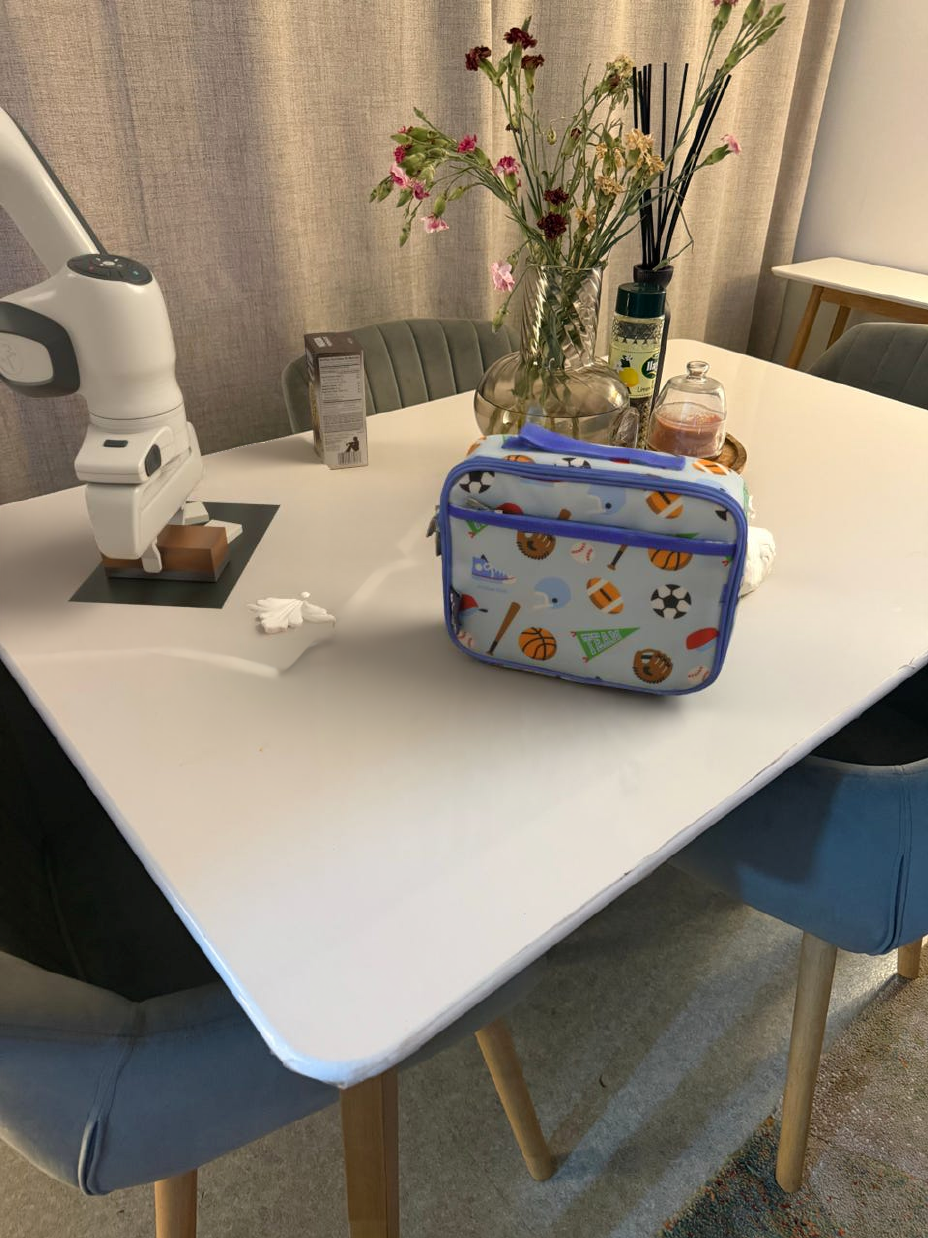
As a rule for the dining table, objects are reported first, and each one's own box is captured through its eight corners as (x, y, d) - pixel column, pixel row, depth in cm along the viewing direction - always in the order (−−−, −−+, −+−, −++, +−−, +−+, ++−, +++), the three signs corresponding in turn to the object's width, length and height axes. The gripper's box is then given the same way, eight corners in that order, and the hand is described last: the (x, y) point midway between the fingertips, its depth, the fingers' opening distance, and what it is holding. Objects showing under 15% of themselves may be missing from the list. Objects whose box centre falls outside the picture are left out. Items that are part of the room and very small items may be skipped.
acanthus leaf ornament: (337, 628, 88) (335, 612, 87) (271, 648, 85) (269, 632, 84) (307, 593, 94) (306, 578, 93) (244, 611, 91) (242, 596, 90)
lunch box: (417, 664, 83) (412, 442, 71) (450, 608, 92) (450, 401, 80) (717, 720, 77) (767, 486, 65) (723, 653, 85) (768, 436, 73)
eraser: (105, 576, 94) (97, 543, 92) (124, 553, 99) (117, 521, 96) (216, 582, 94) (210, 548, 91) (230, 559, 98) (225, 526, 96)
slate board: (56, 613, 90) (53, 605, 90) (150, 502, 112) (149, 495, 111) (229, 621, 89) (228, 614, 89) (291, 508, 111) (290, 501, 110)
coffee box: (312, 446, 128) (302, 332, 119) (356, 441, 129) (349, 329, 120) (323, 471, 120) (313, 352, 112) (370, 465, 122) (363, 348, 113)
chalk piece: (175, 527, 104) (173, 520, 104) (169, 514, 107) (167, 506, 107) (209, 521, 106) (208, 513, 105) (202, 507, 109) (201, 500, 108)
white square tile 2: (193, 541, 101) (192, 534, 101) (213, 526, 104) (211, 519, 104) (224, 547, 100) (222, 539, 100) (242, 532, 103) (241, 524, 103)
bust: (755, 585, 100) (722, 491, 100) (809, 571, 94) (773, 471, 94) (681, 617, 95) (645, 517, 94) (732, 605, 88) (693, 498, 88)
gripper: (150, 395, 96) (171, 510, 104) (64, 471, 79) (97, 602, 87) (207, 397, 96) (224, 513, 104) (133, 474, 79) (160, 606, 87)
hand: (166, 554), depth 95 cm, fingers closed on eraser, 5 cm apart
